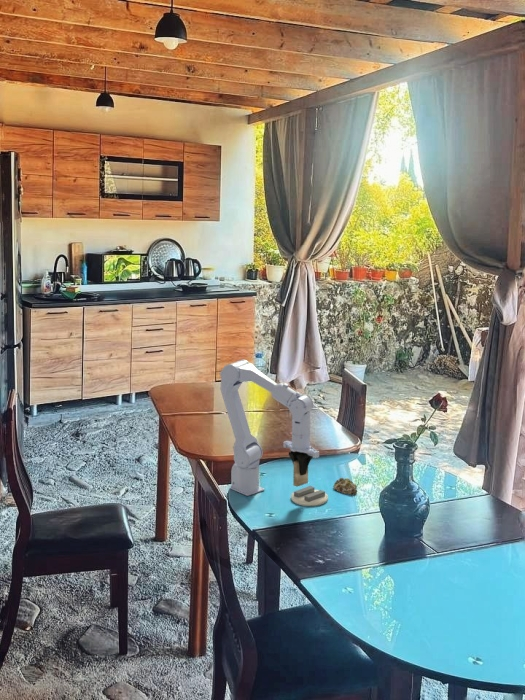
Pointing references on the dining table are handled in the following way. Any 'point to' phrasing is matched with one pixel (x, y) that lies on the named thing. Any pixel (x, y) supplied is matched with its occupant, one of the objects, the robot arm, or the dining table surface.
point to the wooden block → (297, 477)
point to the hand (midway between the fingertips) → (300, 473)
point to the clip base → (313, 503)
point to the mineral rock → (345, 486)
